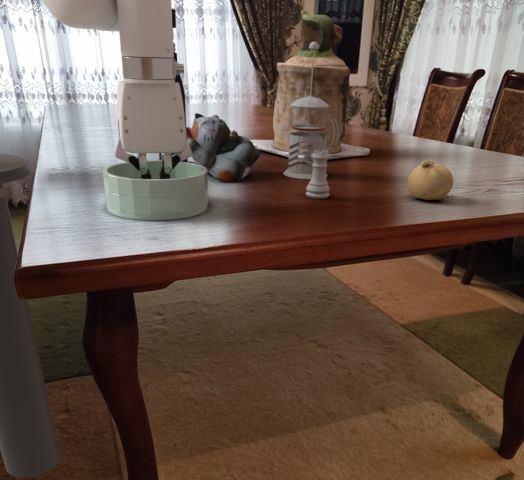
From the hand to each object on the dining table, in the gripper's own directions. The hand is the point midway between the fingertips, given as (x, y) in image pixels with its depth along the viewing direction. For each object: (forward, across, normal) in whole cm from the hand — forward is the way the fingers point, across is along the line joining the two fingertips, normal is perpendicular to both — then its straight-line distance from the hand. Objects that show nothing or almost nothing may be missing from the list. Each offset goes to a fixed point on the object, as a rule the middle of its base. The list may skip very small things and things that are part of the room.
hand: (156, 196), depth 87 cm
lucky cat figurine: (+2, -16, -22) cm, 28 cm away
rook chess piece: (+2, -30, -2) cm, 30 cm away
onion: (+2, -49, +4) cm, 50 cm away
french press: (+2, -35, -20) cm, 41 cm away
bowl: (+2, 0, 0) cm, 2 cm away
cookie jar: (+2, -46, -48) cm, 67 cm away
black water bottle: (+2, -9, -38) cm, 39 cm away
